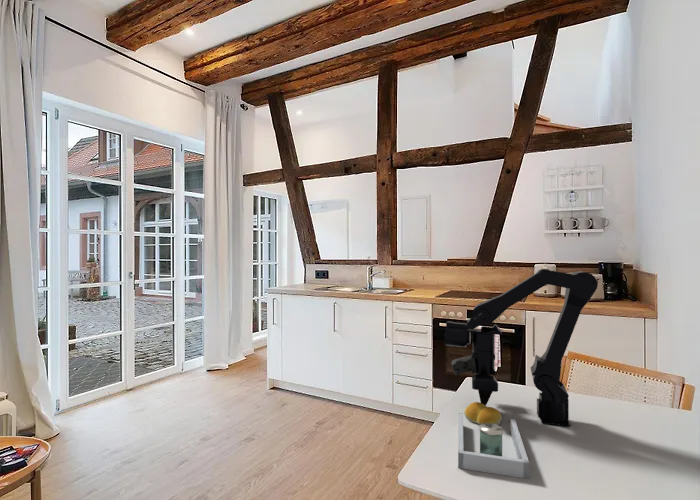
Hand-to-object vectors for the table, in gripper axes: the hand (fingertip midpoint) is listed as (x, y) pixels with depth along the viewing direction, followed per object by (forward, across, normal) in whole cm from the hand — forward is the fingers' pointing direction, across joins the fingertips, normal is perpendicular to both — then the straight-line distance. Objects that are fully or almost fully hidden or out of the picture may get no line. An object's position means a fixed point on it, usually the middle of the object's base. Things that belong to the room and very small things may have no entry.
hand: (483, 405), depth 105 cm
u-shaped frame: (+1, +22, 0) cm, 22 cm away
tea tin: (+1, +26, 0) cm, 26 cm away
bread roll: (+1, +7, 0) cm, 7 cm away
